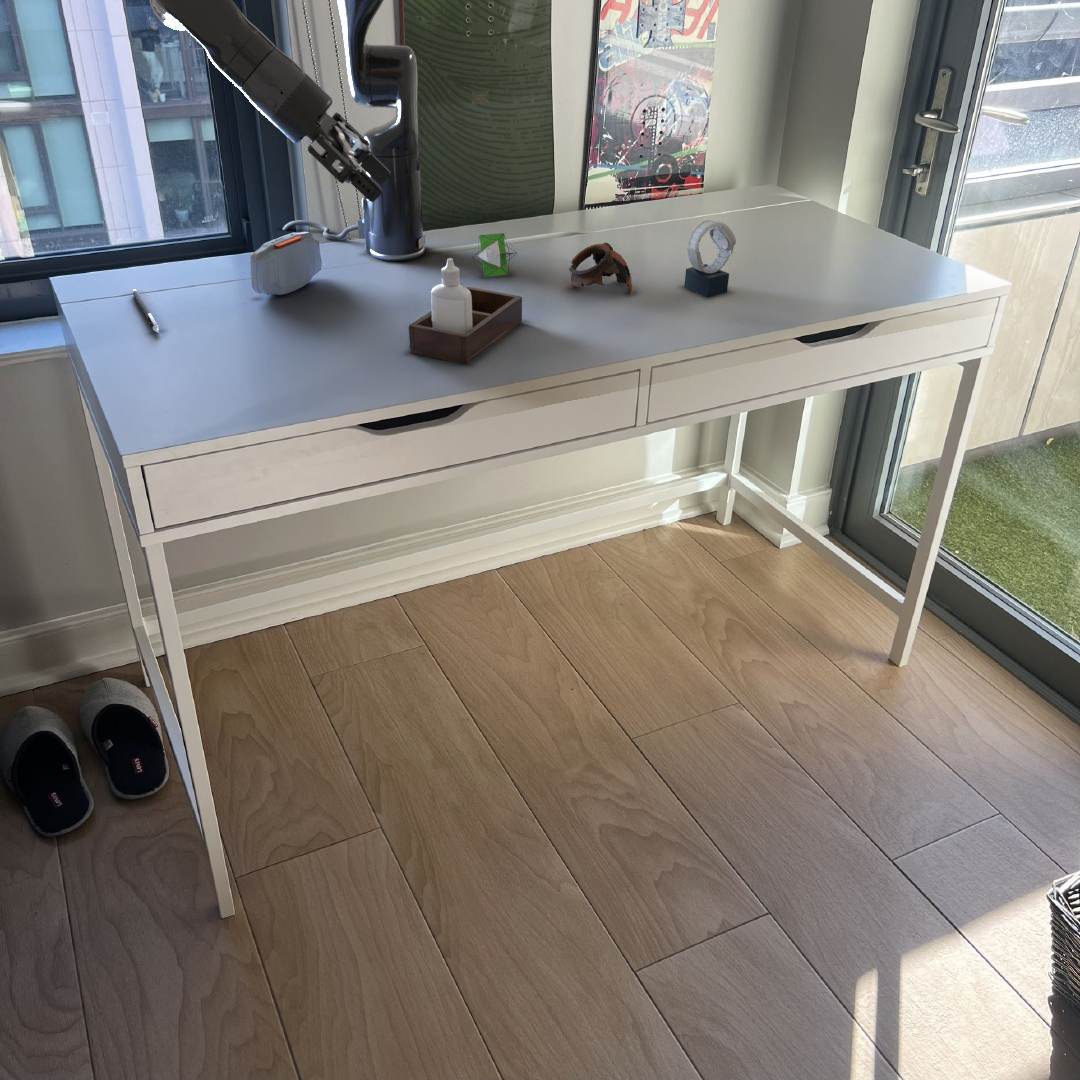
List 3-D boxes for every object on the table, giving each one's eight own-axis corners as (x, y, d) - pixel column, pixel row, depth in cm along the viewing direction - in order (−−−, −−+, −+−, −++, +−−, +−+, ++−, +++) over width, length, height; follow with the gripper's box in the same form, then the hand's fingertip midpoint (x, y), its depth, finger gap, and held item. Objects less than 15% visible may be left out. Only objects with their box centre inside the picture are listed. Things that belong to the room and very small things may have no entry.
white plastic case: (312, 273, 176) (307, 225, 172) (326, 277, 175) (321, 228, 170) (251, 300, 165) (244, 249, 161) (266, 303, 164) (259, 253, 160)
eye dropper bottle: (451, 352, 148) (448, 267, 141) (429, 339, 151) (425, 256, 145) (476, 344, 150) (475, 261, 143) (454, 332, 154) (451, 250, 147)
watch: (736, 290, 172) (744, 222, 166) (699, 299, 168) (706, 230, 162) (712, 280, 176) (719, 213, 170) (675, 289, 172) (681, 221, 166)
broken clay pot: (637, 303, 168) (615, 262, 162) (583, 324, 171) (560, 284, 166) (637, 260, 176) (617, 220, 170) (586, 281, 179) (564, 242, 174)
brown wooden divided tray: (409, 353, 149) (408, 325, 147) (468, 312, 162) (467, 286, 160) (467, 364, 146) (466, 336, 144) (522, 322, 159) (522, 296, 157)
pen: (155, 334, 153) (153, 327, 152) (131, 292, 167) (130, 285, 166) (161, 333, 153) (160, 326, 153) (137, 291, 167) (135, 285, 167)
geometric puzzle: (465, 253, 179) (472, 223, 172) (504, 249, 181) (512, 220, 174) (475, 289, 177) (482, 261, 170) (514, 285, 179) (523, 257, 171)
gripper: (293, 84, 128) (394, 182, 135) (315, 63, 140) (406, 154, 147) (256, 130, 131) (356, 223, 138) (280, 105, 143) (371, 192, 150)
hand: (382, 187), depth 142 cm, fingers open, 8 cm apart
